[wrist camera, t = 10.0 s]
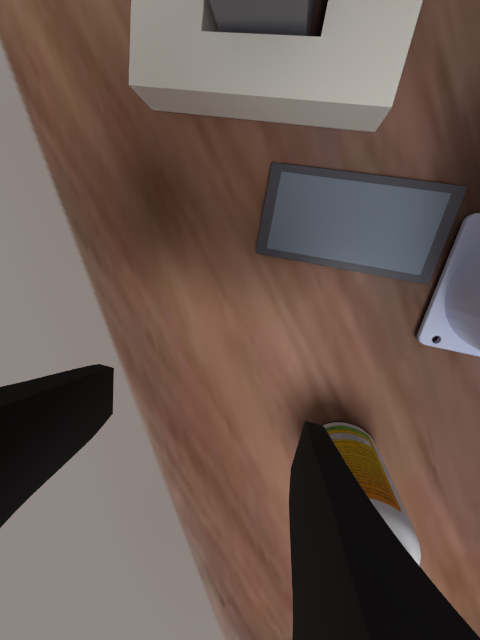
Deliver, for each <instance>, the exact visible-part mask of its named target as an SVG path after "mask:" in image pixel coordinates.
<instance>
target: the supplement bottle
mask: <svg viewBox="0 0 480 640" xmlns="http://www.w3.org/2000/svg"><path fill="white" fill-rule="evenodd" d="M322 426H324V427H325V429H326V431H327V432H328V434H329V436H330V437H331V439H332V441H333V442H334V444H335V446H336V447H337V449H338V451H339V452H340V454H341V456H342V457H343V459H344V461H345V462H346V464H347V465H348V467H349V469H350V470H351V472H352V473H353V475H354V477H355V478H356V480H357V481H358V483H359V484H360V486H361V487H362V489H363V490H364V492H365V493H366V495H367V496H368V498H369V499H370V501H371V502H372V504H373V505H374V506H375V508H376V509H377V511H378V512H379V513H380V515H381V516H382V518H383V519H384V520H385V522H386V523H387V525H388V526H389V527H390V529H391V530H392V531H393V533H394V534H395V535H396V537H397V538H398V539H399V541H400V542H401V543H402V545H403V546H404V547H405V549H406V550H407V551H408V552H409V554H410V555H411V556H412V557H413V559H414V560H415V561H416V562H417V564H418V565H420V559H421V552H420V546H419V542H418V539H417V536H416V534H415V531H414V528H413V526H412V524H411V521H410V519H409V517H408V515H407V513H406V510H405V508H404V506H403V504H402V501H401V499H400V497H399V495H398V492H397V490H396V488H395V486H394V483H393V481H392V479H391V477H390V474H389V472H388V470H387V468H386V465H385V463H384V461H383V459H382V456H381V454H380V452H379V450H378V448H377V446H376V444H375V442H374V440H373V439H372V438H371V436H370V435H369V434H368V433H366V432H365V431H364V430H362V429H361V428H359V427H357V426H355V425H352V424H348V423H343V422H333V423H328V424H325V425H322Z"/></svg>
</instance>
